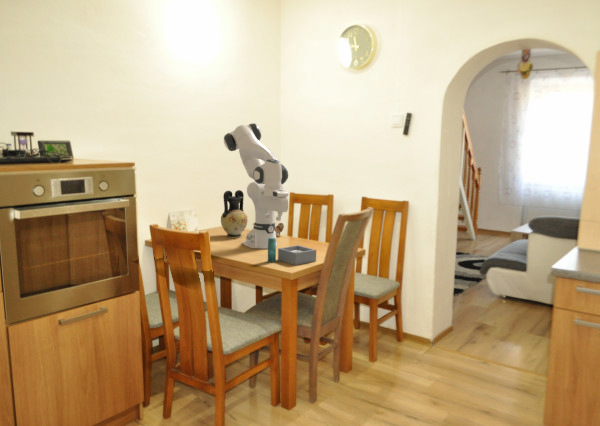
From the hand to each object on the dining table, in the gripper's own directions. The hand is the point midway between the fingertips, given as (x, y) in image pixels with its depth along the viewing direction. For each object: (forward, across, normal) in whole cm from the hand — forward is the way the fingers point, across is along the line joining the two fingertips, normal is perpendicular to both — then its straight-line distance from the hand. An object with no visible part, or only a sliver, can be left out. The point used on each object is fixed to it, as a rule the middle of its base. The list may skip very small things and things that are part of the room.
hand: (272, 219), depth 236 cm
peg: (+22, 0, 0) cm, 22 cm away
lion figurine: (+22, -52, +42) cm, 70 cm away
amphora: (+21, -67, +20) cm, 73 cm away
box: (+22, +6, +12) cm, 25 cm away
